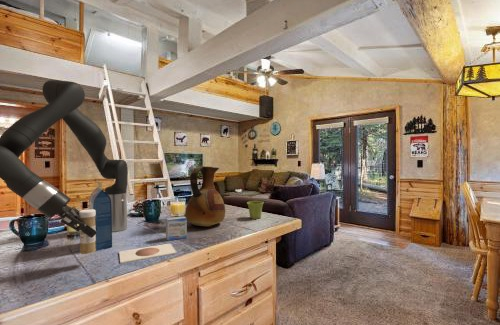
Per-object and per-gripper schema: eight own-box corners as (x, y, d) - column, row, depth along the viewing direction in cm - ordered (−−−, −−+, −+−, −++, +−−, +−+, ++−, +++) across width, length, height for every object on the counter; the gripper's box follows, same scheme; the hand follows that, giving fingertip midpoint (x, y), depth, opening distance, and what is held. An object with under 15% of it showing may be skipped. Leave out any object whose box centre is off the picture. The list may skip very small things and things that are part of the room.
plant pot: (245, 219, 143) (245, 203, 143) (248, 215, 152) (248, 200, 152) (262, 220, 141) (262, 204, 141) (264, 216, 151) (264, 201, 150)
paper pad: (119, 252, 95) (119, 251, 95) (170, 244, 103) (170, 243, 103) (120, 263, 85) (120, 261, 85) (176, 253, 93) (176, 251, 93)
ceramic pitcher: (232, 222, 136) (232, 165, 135) (206, 232, 119) (206, 166, 118) (204, 218, 147) (204, 164, 146) (176, 226, 130) (176, 166, 129)
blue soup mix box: (93, 251, 96) (92, 183, 96) (89, 242, 106) (88, 180, 105) (112, 247, 100) (111, 182, 100) (107, 239, 110) (106, 180, 109)
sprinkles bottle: (77, 252, 84) (76, 210, 84) (93, 248, 87) (92, 208, 87) (82, 255, 81) (81, 212, 81) (98, 251, 84) (97, 210, 84)
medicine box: (167, 241, 107) (167, 220, 107) (165, 238, 111) (165, 217, 111) (187, 238, 111) (186, 217, 111) (184, 235, 115) (184, 215, 115)
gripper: (53, 192, 74) (103, 229, 80) (61, 186, 86) (104, 219, 92) (30, 213, 71) (83, 249, 78) (41, 204, 84) (87, 236, 90)
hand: (94, 232), depth 85 cm, fingers closed on sprinkles bottle, 4 cm apart
